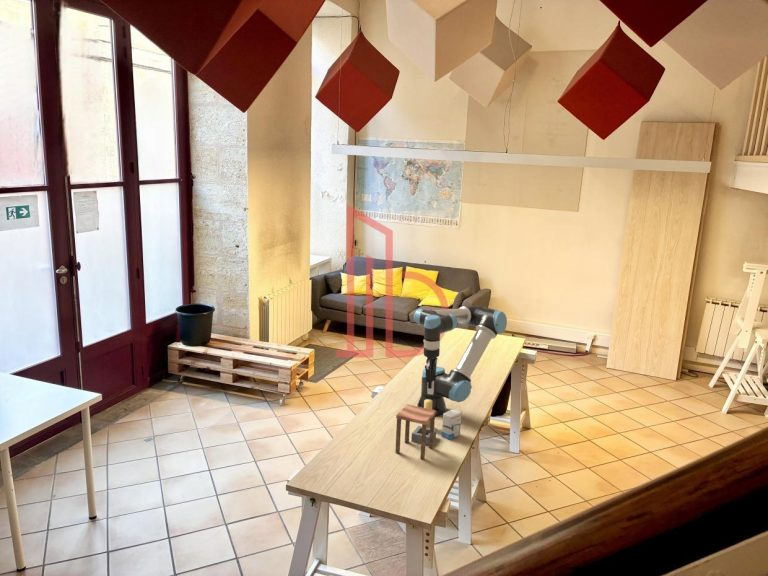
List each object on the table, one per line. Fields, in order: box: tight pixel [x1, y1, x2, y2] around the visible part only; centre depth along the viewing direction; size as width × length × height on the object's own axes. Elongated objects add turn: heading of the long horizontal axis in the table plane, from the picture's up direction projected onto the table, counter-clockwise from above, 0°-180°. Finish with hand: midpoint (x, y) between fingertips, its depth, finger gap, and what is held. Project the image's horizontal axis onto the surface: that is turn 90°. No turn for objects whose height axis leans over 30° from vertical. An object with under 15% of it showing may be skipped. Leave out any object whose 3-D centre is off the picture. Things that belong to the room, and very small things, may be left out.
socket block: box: [411, 425, 437, 446], centre depth 283 cm, size 9×9×4 cm
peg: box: [424, 399, 432, 428], centre depth 294 cm, size 4×4×14 cm
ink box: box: [441, 409, 462, 440], centre depth 286 cm, size 9×5×12 cm, turn 135°
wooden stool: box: [394, 403, 436, 461], centre depth 270 cm, size 13×14×18 cm
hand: (430, 393), depth 290 cm, fingers closed
